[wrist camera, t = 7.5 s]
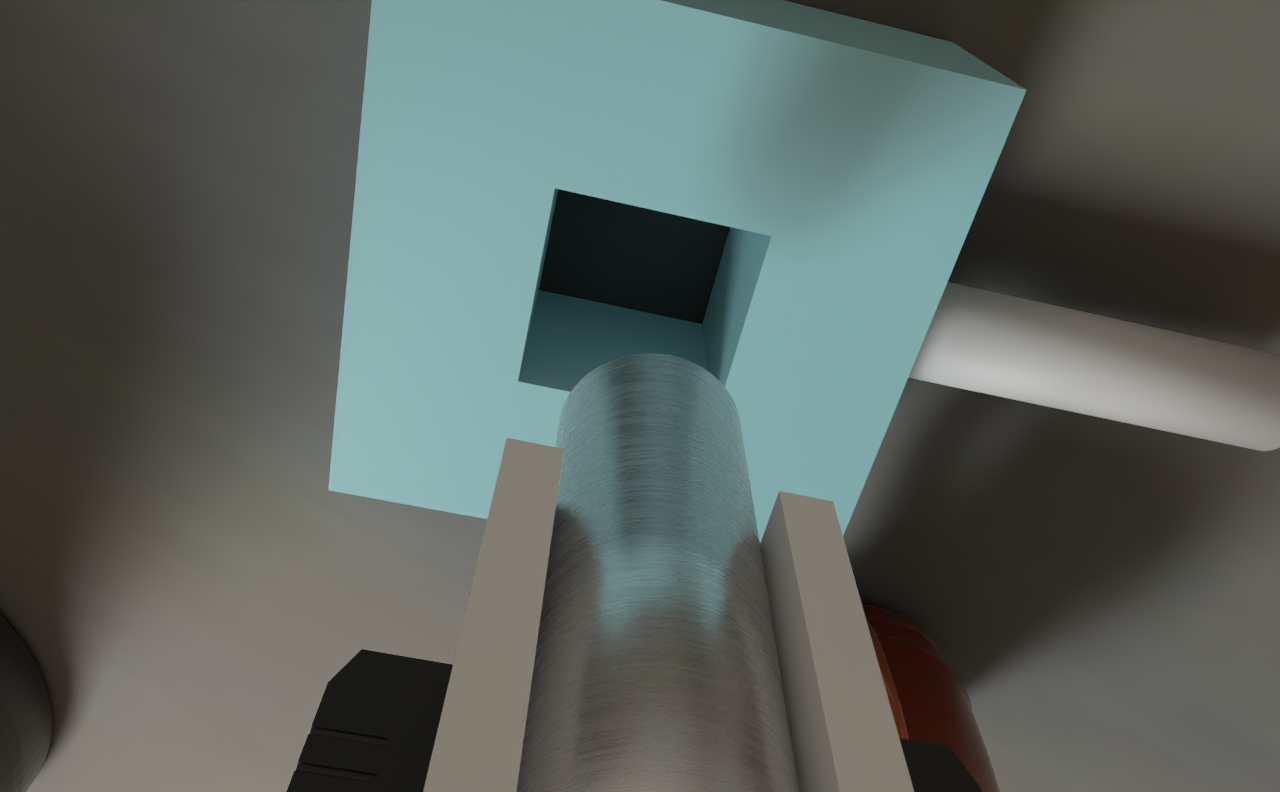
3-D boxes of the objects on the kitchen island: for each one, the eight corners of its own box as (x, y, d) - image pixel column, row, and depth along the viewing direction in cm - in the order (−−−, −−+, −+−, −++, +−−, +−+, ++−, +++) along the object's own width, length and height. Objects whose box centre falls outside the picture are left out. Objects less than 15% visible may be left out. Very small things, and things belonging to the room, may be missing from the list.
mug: (973, 746, 34) (1091, 1068, 25) (723, 779, 35) (751, 1101, 26) (961, 461, 28) (1109, 746, 19) (662, 507, 29) (671, 802, 20)
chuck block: (378, 385, 27) (328, 490, 23) (431, -88, 21) (378, -69, 17) (1116, 529, 29) (1199, 649, 25) (1342, 139, 24) (1501, 206, 19)
